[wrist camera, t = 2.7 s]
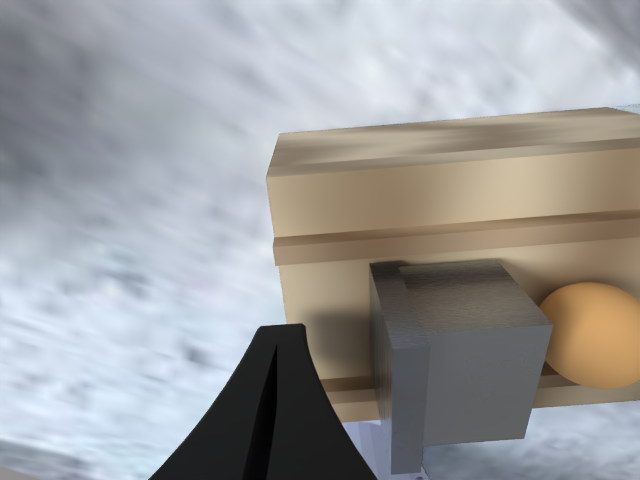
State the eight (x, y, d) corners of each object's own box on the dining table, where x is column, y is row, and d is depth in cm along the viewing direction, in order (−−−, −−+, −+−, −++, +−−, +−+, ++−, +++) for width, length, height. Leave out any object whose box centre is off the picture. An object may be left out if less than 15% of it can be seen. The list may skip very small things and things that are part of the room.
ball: (613, 320, 13) (693, 392, 10) (524, 349, 13) (578, 425, 11) (605, 249, 12) (693, 310, 9) (506, 284, 12) (563, 352, 9)
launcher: (302, 329, 20) (301, 440, 14) (279, 133, 15) (263, 184, 10) (652, 302, 20) (786, 403, 14) (733, 96, 15) (977, 128, 10)
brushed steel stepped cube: (370, 371, 13) (390, 475, 10) (368, 263, 11) (393, 349, 8) (479, 363, 13) (533, 463, 10) (497, 253, 11) (571, 335, 8)
